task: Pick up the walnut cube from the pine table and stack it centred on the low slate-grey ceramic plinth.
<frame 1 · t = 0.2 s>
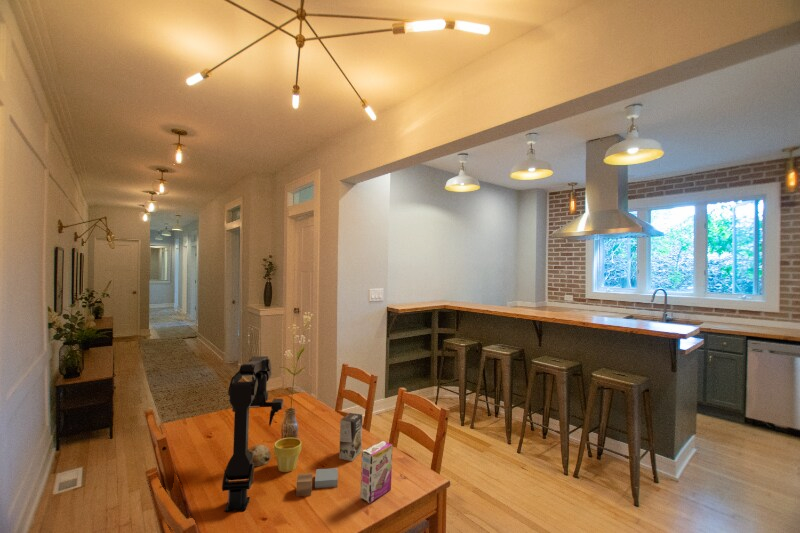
hand: (258, 426, 150), 14 cm above the table, fingers open, 9 cm apart
plant pot: (287, 468, 146), on the table
candy bar box: (376, 495, 130), on the table
walnut cube: (304, 491, 130), on the table
plinth: (326, 481, 137), on the table
grey rounded lump: (256, 461, 151), on the table
coffee box: (350, 455, 157), on the table
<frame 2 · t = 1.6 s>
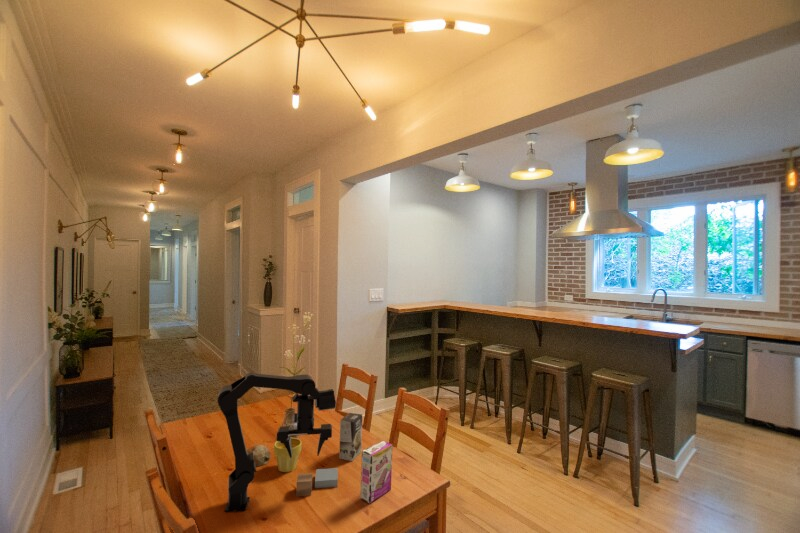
hand: (304, 456, 131), 12 cm above the table, fingers open, 9 cm apart
nothing on the table moved.
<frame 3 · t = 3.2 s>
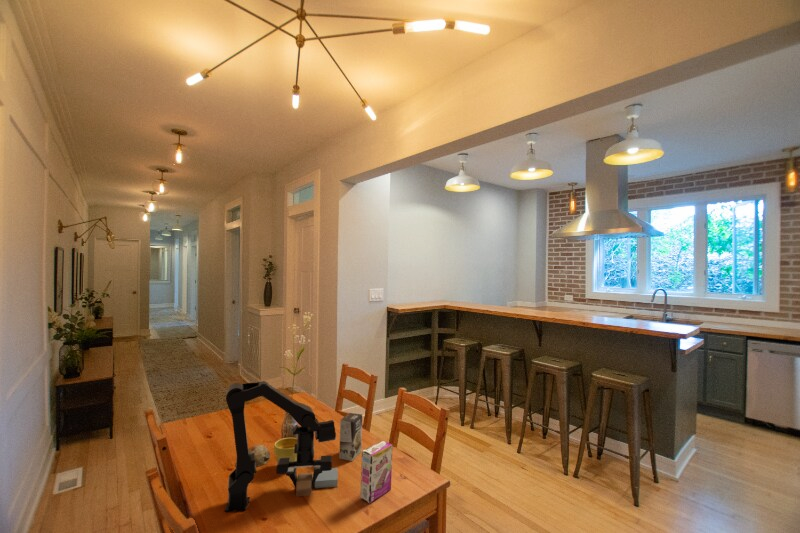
hand: (304, 488, 130), 1 cm above the table, fingers closed on walnut cube, 5 cm apart
walnut cube: (304, 491, 130), on the table, touching gripper
everything else where it was.
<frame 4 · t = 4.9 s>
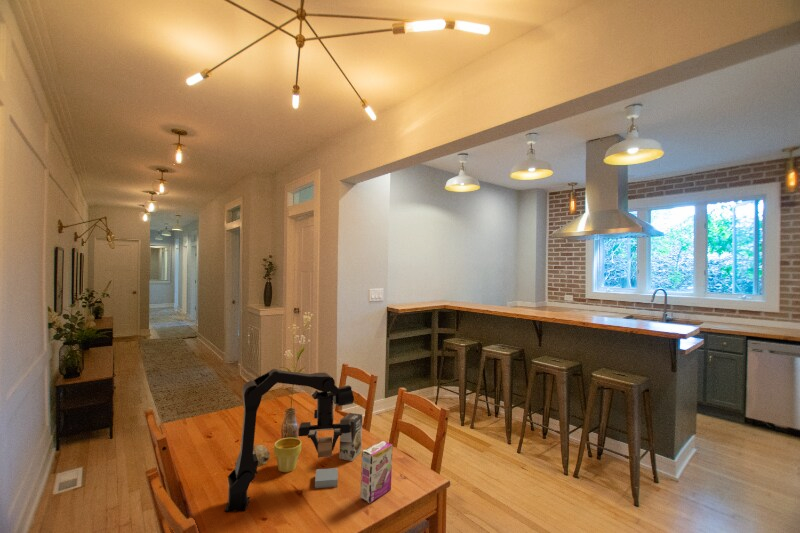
hand: (325, 450, 136), 12 cm above the table, fingers closed on walnut cube, 5 cm apart
walnut cube: (325, 453, 136), point 11 cm above the table, touching gripper
everything else where it was.
when the fingers open (4 cm above the table, at t = 6.6 s): walnut cube stays where it is, resting on plinth.
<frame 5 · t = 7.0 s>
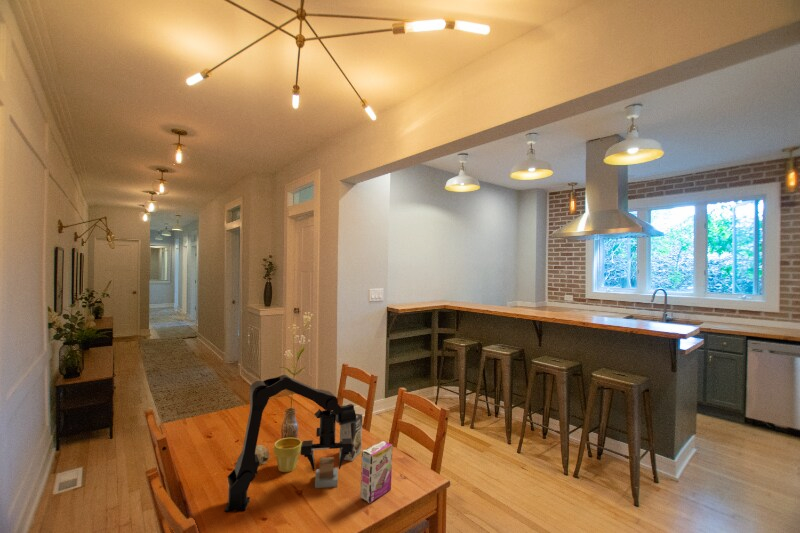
hand: (326, 469, 137), 4 cm above the table, fingers open, 9 cm apart
walnut cube: (326, 474, 137), point 2 cm above the table, touching plinth
everything else where it was.
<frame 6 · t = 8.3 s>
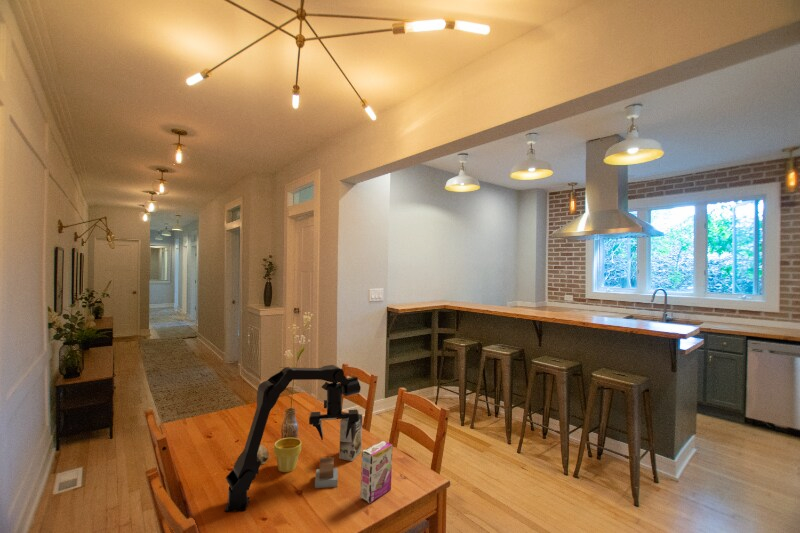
hand: (334, 438, 144), 13 cm above the table, fingers open, 9 cm apart
nothing on the table moved.
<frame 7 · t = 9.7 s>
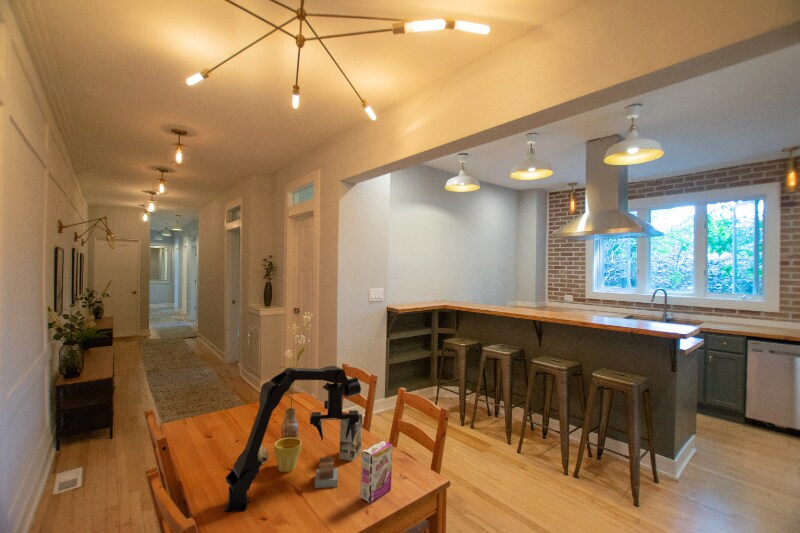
hand: (334, 439, 145), 12 cm above the table, fingers open, 9 cm apart
nothing on the table moved.
at the end: walnut cube 0.0 cm off-centre on the plinth, point 2.5 cm above the plinth's base; walnut cube tilted 0°; the gripper is holding nothing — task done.
